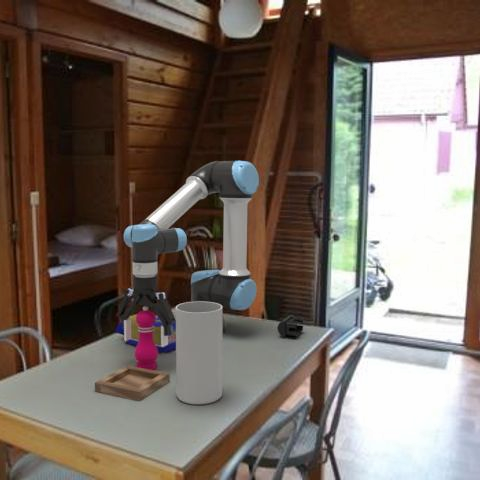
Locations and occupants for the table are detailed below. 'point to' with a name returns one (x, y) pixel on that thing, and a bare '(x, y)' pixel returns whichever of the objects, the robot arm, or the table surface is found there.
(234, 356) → the table surface
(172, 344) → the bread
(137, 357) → the pepper mill
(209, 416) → the table surface
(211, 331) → the cylinder vase
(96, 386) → the walnut holder
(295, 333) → the end cap
